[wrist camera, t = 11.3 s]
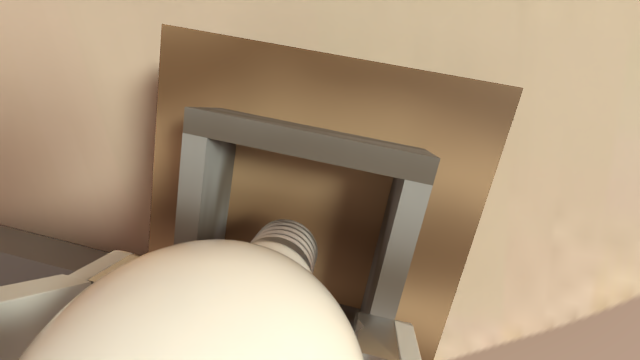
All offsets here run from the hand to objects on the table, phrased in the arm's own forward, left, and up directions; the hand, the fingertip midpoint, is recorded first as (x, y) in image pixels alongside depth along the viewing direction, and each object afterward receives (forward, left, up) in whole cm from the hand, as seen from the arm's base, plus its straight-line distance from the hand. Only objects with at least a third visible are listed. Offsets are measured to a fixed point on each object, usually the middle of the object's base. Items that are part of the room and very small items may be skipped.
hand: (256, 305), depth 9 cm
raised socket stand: (0, 0, -13) cm, 13 cm away
